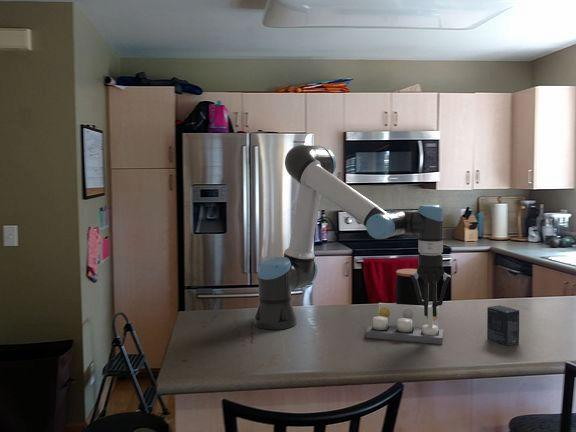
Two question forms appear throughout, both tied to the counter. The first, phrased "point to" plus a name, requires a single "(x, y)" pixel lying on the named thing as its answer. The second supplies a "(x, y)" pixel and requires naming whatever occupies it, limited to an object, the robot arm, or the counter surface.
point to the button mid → (404, 324)
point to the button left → (380, 323)
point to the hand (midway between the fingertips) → (430, 325)
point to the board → (404, 335)
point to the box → (503, 325)
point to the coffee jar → (407, 287)
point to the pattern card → (405, 314)
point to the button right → (430, 330)
